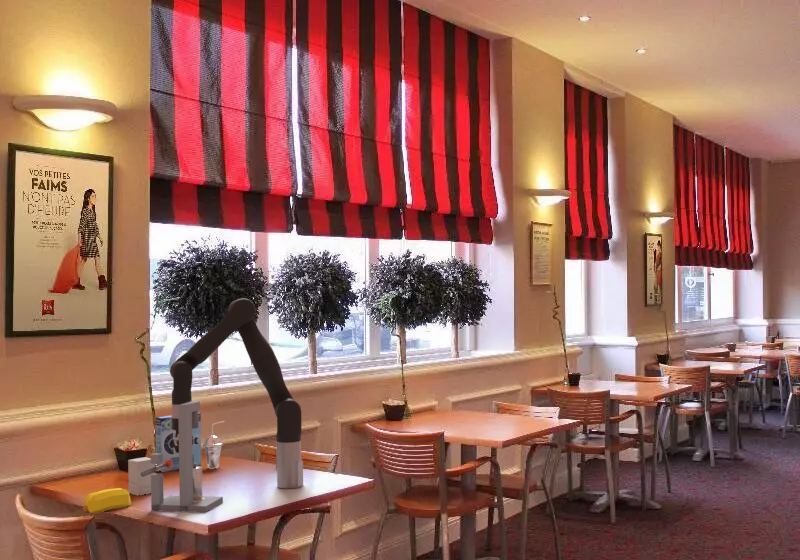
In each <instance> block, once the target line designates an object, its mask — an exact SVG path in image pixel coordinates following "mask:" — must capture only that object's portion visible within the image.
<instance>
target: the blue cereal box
mask: <svg viewBox="0 0 800 560" xmlns="http://www.w3.org/2000/svg"><path fill="white" fill-rule="evenodd" d="M201 415H202V414H201V412H198V428H193V429H192V436H193V439H192V457H193V463H196V464H197V466H202V464H203V463H202V426H201V425H202V421H201V419H202V416H201ZM175 434H176V431H175V430H173V429H172V415H170V414H169V415H164V416H155V453H163V462H162V463H159V464H157V465H161V464H163V463H164V461H165V460H168V459H169V460H171V461H172V462H173V465H172V467H171V468H169V469H166V468H163V469H161V470H160V471H161V472H160V473H165V472H170V471H176V470H179V453H176V451H175V448H174V446H173V444H172V441H173V440H175V439H176V438H175Z"/></svg>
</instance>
